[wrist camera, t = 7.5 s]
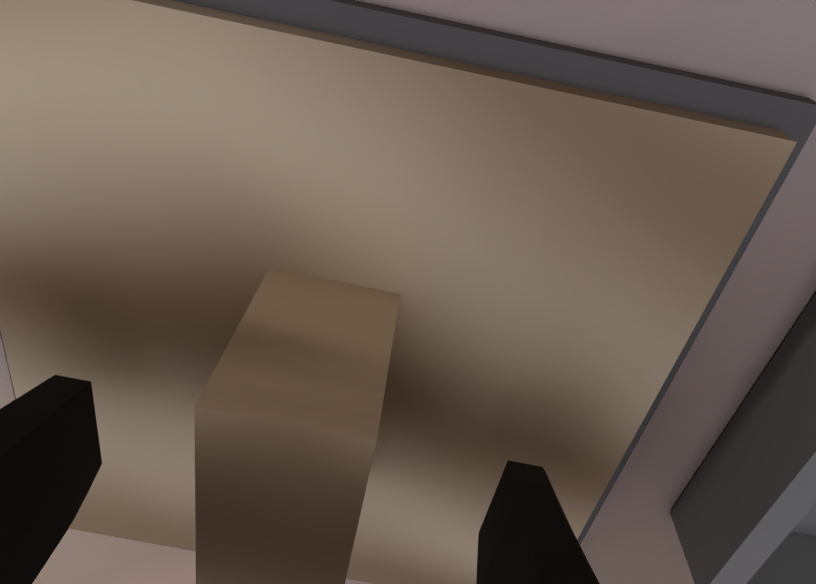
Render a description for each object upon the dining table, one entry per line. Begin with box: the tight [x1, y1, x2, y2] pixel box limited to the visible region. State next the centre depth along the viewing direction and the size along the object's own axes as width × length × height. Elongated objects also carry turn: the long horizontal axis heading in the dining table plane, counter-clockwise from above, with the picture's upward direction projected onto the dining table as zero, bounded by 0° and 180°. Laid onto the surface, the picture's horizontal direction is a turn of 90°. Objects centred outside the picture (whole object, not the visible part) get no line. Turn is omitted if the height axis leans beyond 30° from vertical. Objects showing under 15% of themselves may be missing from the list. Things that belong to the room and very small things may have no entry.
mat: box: [0, 0, 816, 545], centre depth 13 cm, size 14×14×1 cm
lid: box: [0, 0, 797, 584], centre depth 11 cm, size 13×13×4 cm
